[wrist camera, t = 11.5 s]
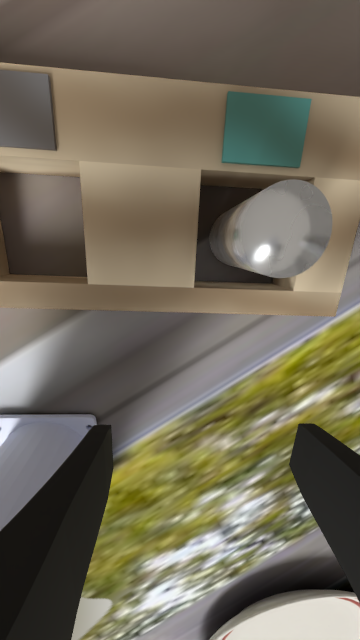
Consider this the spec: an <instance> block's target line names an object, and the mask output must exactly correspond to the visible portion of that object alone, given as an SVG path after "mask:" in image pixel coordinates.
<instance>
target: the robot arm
mask: <svg viewBox="0 0 360 640" xmlns="http://www.w3.org/2000/svg"><path fill="white" fill-rule="evenodd" d="M88 425H91V426H92V427H89V426H88ZM289 465H290V468H291V470H292V473H293V475H294V478H295V480H296V482H297V485H298V487H299V489H300V492H301V494H302V496H303V498H304V500H305V502H306V503H307V505H308V507H309V509H310V511H311V513H312V515H313V516H314V518H315V520H316V522H317V524H318V526H319V527H320V529H321V531H322V533H323V535H324V536H325V538H326V540H327V542H328V544H329V546H330V547H331V549H332V551H333V553H334V555H335V556H336V558H337V560H338V562H339V564H340V565H341V567H342V569H343V571H344V573H345V575H346V577H347V579H348V581H349V582H350V584H351V586H352V588H353V590H354V592H355V594H356V596H357V598H358V601H359V603H360V455H358V454H357V453H355V452H354V451H353V450H351V449H350V448H348V447H347V446H346V445H344V444H343V443H341V442H340V441H339V440H337V439H336V438H334V437H333V436H332V435H330V434H329V433H327V432H326V431H324V430H323V429H321V428H320V427H318V426H317V425H315V424H299V425H298V429H297V433H296V438H295V442H294V446H293V450H292V455H291V459H290V463H289ZM112 472H113V453H112V434H111V425H97V423H96V417H95V416H93V415H90V414H55V415H0V640H71V637H72V633H73V628H74V624H75V619H76V614H77V609H78V606H79V601H80V598H81V594H82V590H83V586H84V582H85V579H86V575H87V572H88V568H89V564H90V561H91V557H92V554H93V550H94V547H95V543H96V540H97V536H98V532H99V529H100V525H101V522H102V518H103V514H104V511H105V507H106V503H107V500H108V494H109V489H110V484H111V478H112Z"/></svg>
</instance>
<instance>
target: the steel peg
mask: <svg viewBox="0 0 360 640" xmlns="http://www.w3.org/2000/svg"><path fill="white" fill-rule="evenodd" d="M332 221H333V220H332V212H331V208H330V205H329V203H328V201H327V199H326V197H325V196H324V194H323V193H322V192H321V191H320V190H319V189H318V188H317V187H316V186H314V185H313V184H311V183H308V182H306V181H302V180H296V179H292V180H284V181H280V182H277V183H275V184H273V185H271V186H269V187H267V188H266V189H264V190H262V191H261V192H259V193H257V194H255V195H254V196H252V197H250V198H249V199H247V200H245V201H243V202H242V203H240V204H238V205H237V206H235V207H233V208H231V209H230V210H228V211H226V212H225V213H223V214H222V215H220V216H219V217H218V218H217V219H216V221H215V222H214V224H213V226H212V228H211V231H210V237H209V241H210V247H211V250H212V252H213V254H214V255H215V257H216V258H217V259H218V260H219V261H221V262H223V263H225V264H227V265H231V266H234V267H238V268H241V269H245V270H248V271H252V272H255V273H259V274H262V275H266V276H269V277H274V278H288V277H293V276H296V275H298V274H301V273H303V272H304V271H306V270H308V269H309V268H310V267H311V266H313V265H314V264H315V263H316V262H317V261H318V259H319V258H320V257H321V256H322V254H323V253H324V251H325V249H326V247H327V245H328V243H329V240H330V237H331V233H332Z"/></svg>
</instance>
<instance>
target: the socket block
mask: <svg viewBox="0 0 360 640" xmlns="http://www.w3.org/2000/svg"><path fill="white" fill-rule="evenodd" d="M0 172H10V173H25V174H40V175H56V176H71V177H80V181H81V195H82V209H83V223H84V237H85V250H86V264H87V277H74V276H46V275H18V274H10V272H9V266H8V260H7V254H6V248H5V242H4V236H3V231H2V225H1V219H0V308H34V309H72V310H110V311H148V312H186V313H224V314H262V315H300V316H336V312H337V308H338V304H339V300H340V296H341V292H342V288H343V284H344V280H345V276H346V272H347V268H348V264H349V260H350V256H351V252H352V248H353V244H354V240H355V236H356V232H357V228H358V224H359V220H360V97H354V96H344V95H334V94H323V93H313V92H302V91H292V90H282V89H271V88H261V87H250V86H240V85H229V84H219V83H209V82H198V81H188V80H177V79H167V78H157V77H146V76H136V75H125V74H115V73H105V72H94V71H84V70H73V69H63V68H53V67H42V66H32V65H21V64H11V63H0ZM292 179H296V180H302V181H306V182H308V183H311V184H313V185H314V186H316V187H317V188H318V189H319V190H320V191H321V192H322V193H323V194H324V196H325V197H326V199H327V201H328V203H329V205H330V208H331V212H332V220H333V221H332V233H331V237H330V240H329V243H328V245H327V247H326V249H325V251H324V253H323V254H322V256H321V257H320V258H319V259H318V261H317V262H316V263H315V264H314V265H313V266H311V267H310V268H309V269H308V270H306V271H304V272H303V273H301V274H298V275H296V276H293V277H288V278H274V277H273V279H272V284H268V283H241V282H213V281H194V279H195V263H196V246H197V230H198V214H199V198H200V185H210V186H225V187H241V188H256V189H266V188H267V187H269V186H271V185H273V184H275V183H277V182H280V181H284V180H292Z"/></svg>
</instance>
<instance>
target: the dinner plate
mask: <svg viewBox="0 0 360 640" xmlns="http://www.w3.org/2000/svg"><path fill="white" fill-rule="evenodd" d="M209 640H360V603H359V601H358V598H357V596H356V594H355V593H353V592H348V591H340V590H296V591H289V592H284V593H280V594H276V595H273V596H270V597H267V598H264V599H262V600H260V601H258V602H256V603H254V604H252V605H250V606H248V607H247V608H245V609H244V610H243V611H241V612H240V613H239V614H238V615H236V616H235V617H233V618H232V619H230V620H229V621H228V622H227V623H225V624H224V625H223V626H222V627H221V628H220V629H218V631H217V632H216V633H215V634H214V635H213V636H212V637H211V638H210V639H209Z"/></svg>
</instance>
